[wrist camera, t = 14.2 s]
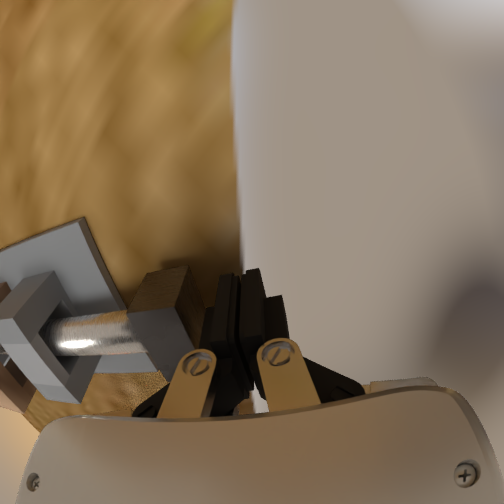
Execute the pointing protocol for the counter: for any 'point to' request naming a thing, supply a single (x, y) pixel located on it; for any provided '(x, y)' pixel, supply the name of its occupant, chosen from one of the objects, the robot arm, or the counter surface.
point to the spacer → (13, 378)
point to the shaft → (137, 324)
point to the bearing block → (58, 309)
